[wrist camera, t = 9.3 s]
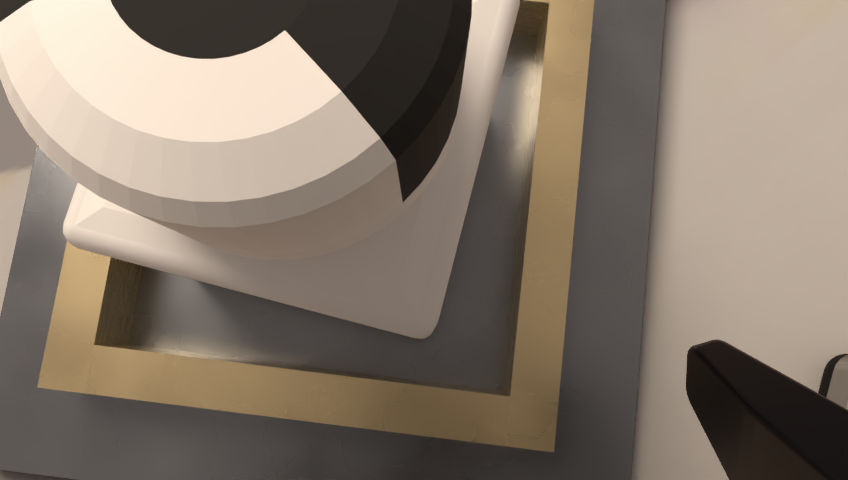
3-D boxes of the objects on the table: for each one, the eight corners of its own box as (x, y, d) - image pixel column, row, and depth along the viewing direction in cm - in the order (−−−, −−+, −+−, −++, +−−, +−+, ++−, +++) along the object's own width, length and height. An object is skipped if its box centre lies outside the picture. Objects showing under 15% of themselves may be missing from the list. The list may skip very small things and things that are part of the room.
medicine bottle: (259, 48, 20) (23, -371, 8) (491, 106, 20) (588, -244, 8) (187, 278, 19) (-201, 173, 7) (430, 342, 19) (437, 343, 7)
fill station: (659, -46, 22) (696, -108, 19) (615, 539, 19) (650, 576, 16) (110, -106, 22) (61, -176, 19) (-9, 459, 19) (-87, 480, 16)
